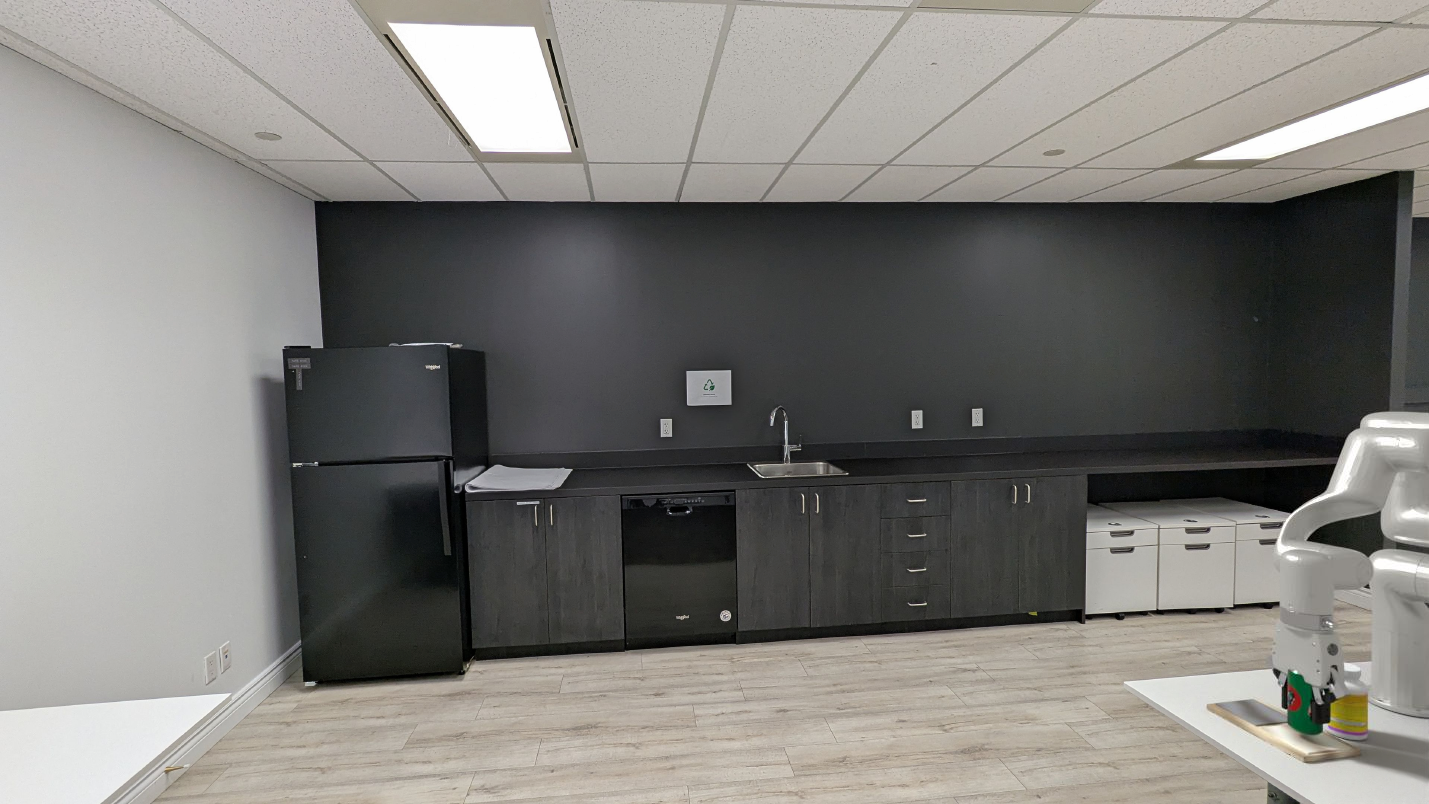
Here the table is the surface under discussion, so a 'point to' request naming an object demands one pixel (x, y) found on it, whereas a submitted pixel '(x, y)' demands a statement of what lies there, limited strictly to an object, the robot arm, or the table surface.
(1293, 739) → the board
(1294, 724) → the soda can
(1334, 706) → the supplement bottle
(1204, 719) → the table surface
